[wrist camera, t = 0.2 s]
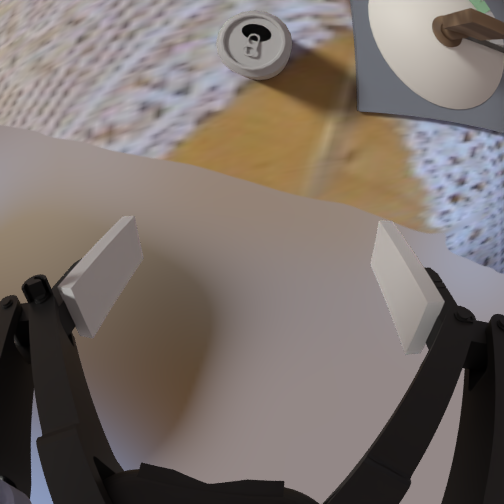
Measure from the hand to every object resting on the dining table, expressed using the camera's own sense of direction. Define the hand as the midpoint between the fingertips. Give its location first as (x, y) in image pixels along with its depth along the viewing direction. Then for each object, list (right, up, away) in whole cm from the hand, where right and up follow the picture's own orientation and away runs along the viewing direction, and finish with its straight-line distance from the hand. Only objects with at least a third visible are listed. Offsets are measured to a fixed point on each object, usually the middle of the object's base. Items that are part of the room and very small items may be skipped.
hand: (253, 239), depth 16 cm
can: (+1, +25, +18) cm, 31 cm away
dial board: (+27, +31, +11) cm, 42 cm away
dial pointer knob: (+32, +30, +10) cm, 45 cm away
